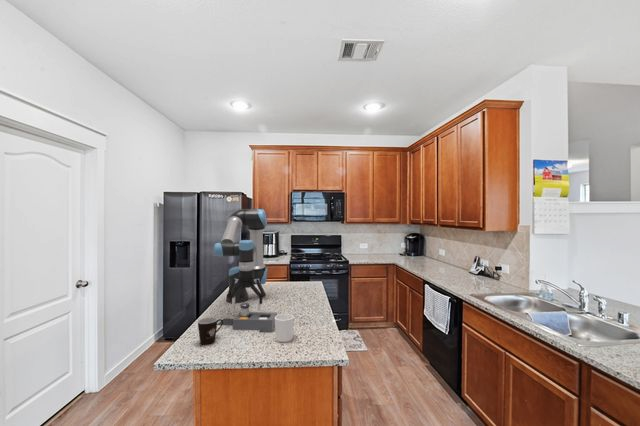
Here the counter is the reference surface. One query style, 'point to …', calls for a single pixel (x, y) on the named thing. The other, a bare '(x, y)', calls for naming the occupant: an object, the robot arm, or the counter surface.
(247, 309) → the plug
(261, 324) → the socket block
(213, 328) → the coffee mug
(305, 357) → the counter surface
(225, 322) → the plate
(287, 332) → the mug
